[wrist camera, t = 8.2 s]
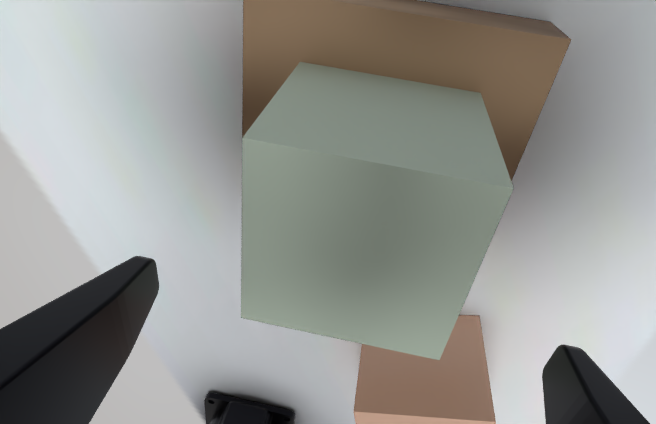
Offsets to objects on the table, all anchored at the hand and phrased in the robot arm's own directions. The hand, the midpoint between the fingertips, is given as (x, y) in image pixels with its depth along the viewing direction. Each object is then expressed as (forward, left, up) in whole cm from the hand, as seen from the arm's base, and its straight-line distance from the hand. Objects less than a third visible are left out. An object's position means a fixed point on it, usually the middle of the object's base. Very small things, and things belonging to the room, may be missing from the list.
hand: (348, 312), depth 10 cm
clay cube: (-13, -5, -11) cm, 18 cm away
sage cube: (0, 0, -8) cm, 8 cm away
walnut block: (0, 0, -10) cm, 10 cm away
